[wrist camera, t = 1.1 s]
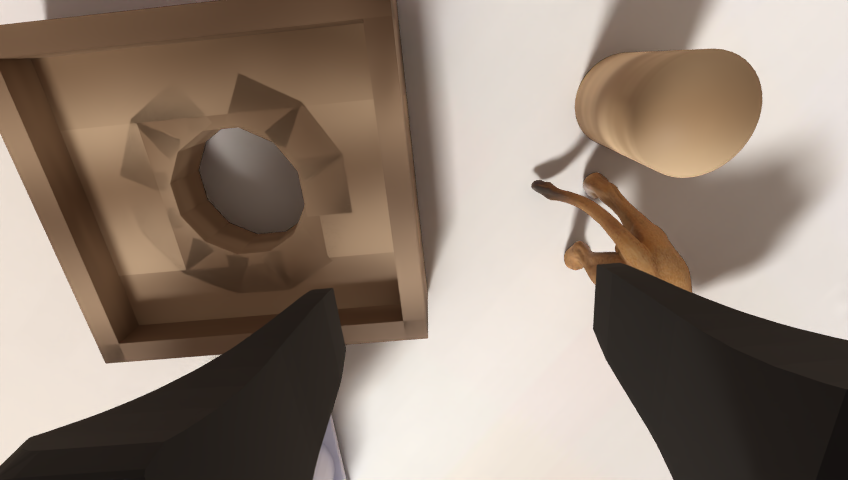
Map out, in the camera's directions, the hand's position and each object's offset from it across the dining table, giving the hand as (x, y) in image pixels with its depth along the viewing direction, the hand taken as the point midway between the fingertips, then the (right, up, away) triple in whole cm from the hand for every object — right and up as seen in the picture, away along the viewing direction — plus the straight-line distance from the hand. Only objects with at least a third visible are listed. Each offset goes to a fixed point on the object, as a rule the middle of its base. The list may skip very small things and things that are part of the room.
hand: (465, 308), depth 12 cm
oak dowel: (+8, +8, +8) cm, 13 cm away
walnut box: (-9, +5, +9) cm, 14 cm away
